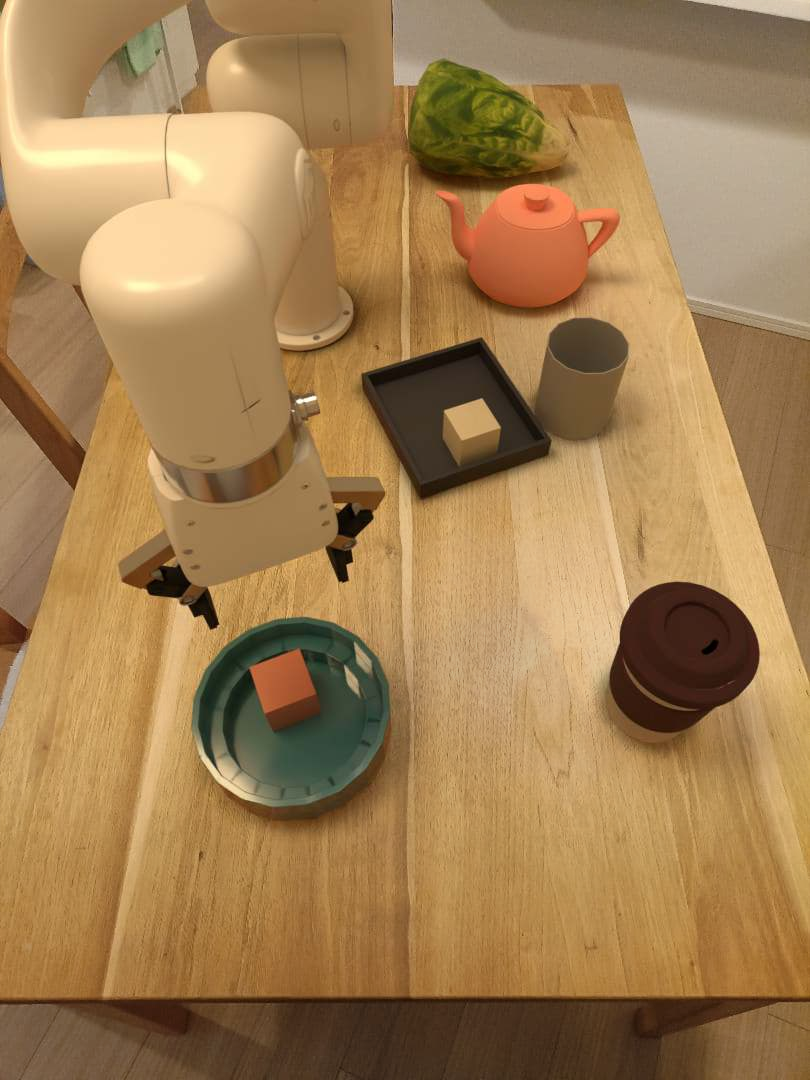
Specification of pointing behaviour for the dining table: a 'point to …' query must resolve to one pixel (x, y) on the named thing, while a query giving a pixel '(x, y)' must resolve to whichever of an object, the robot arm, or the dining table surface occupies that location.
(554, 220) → the teapot
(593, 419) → the cup
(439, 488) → the tray
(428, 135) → the lettuce
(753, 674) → the coffee cup
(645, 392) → the dining table surface
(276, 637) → the bowl
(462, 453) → the block
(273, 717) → the block
